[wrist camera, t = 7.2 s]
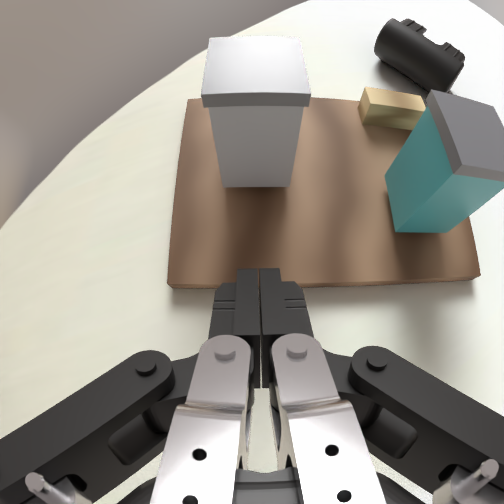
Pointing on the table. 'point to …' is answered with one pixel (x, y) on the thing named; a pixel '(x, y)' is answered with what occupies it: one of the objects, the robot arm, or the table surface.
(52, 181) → the table surface
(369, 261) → the key base
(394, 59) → the end cap
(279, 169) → the grey key
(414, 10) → the table surface
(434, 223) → the teal key
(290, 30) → the table surface
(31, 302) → the table surface
